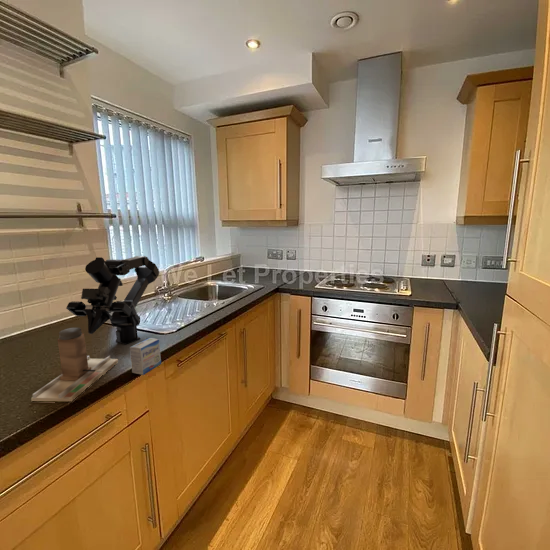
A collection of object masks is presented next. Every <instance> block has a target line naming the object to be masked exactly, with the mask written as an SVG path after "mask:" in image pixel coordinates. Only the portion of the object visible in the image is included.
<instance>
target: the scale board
mask: <svg viewBox="0 0 550 550" xmlns="http://www.w3.org/2000/svg"><path fill="white" fill-rule="evenodd" d="M87 361H88V367H91V370H95V371H94V372H93V371H88V372H87V373H86V374H84V375H83V376H82V377H81V378H79V379H78V380H77V381H70V380H60V376H62V375H63V374H62V373H61V374H60V375H58V376H56V377H55V378H54V379H52V380H51V381H50V382H48V383H47V384H45V385H43V386H42V387H41V388H39V389H37V391H35V392H34V393H32V394H31V395H32V396H31V402H32V401H72V400H73V399H75V398H76V397H77V396H78V395H79V394H80V393H81V392H83V391H84V390H85V389H86V388H87V387H89V386H90V385H91V384H92V383H94V382H95V381H96V380H97V379H98V380H100V379H101V378H102V377H103V376H104V375H106V374H107V373H108V372H109V371H110V370H111V369H112V368H113V367H115V366H116V365H117V364H119V359H118V358H111V355H108V356H107V357H105V358H91V356H90V355H87ZM114 365H115V366H114ZM108 370H109V371H108ZM107 371H108V372H107ZM106 372H107V373H106ZM102 375H103V376H102ZM101 376H102V377H101ZM100 377H101V378H100ZM99 378H100V379H99ZM98 380H97V381H98ZM97 381H96V382H97ZM96 382H95V383H96ZM95 383H94V384H95ZM91 386H92V385H91ZM91 386H90V387H91ZM90 387H89V388H90ZM84 392H85V391H84ZM84 392H83V393H84ZM77 398H78V397H77ZM77 398H76V399H77ZM76 399H75V400H76Z"/></svg>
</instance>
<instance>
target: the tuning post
mask: <svg viewBox="0 0 550 550" xmlns="http://www.w3.org/2000/svg"><path fill="white" fill-rule="evenodd" d="M58 334H59V338H57V347H58V352H59V357H60V359H59V360H60V366H61V367H60V368H61V372H62V373H61V374H63V375H62V376H60V380H70V381H77V380H78V379H79V378H81V377H82V376H83V375H84V374H86V373H87V372H88V371H93V372H94V371H95V370H91V367H88V361H87V356H88V355H87V347H86V339H85V333H82V328H81V327H69V328H65V329H62V330H60V331H59V332H58Z"/></svg>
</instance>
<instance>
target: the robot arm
mask: <svg viewBox="0 0 550 550" xmlns="http://www.w3.org/2000/svg"><path fill="white" fill-rule="evenodd" d="M84 269H85V272H86V273H87V274H88V275H89V276H90V277H91V278H92V279H93V280H94V282H95V283H97V284H99V285H98V287H97V288H82V291H81V295H80V299H81V300H87V301H86V302H87V303H88V304H86V303H84V302H83V301H78V300H77V301H69V302H68V304H67V306H66V308H65V309H66V310H67V311H69V312H70V313H71V314H73V315H74V316H76V317H87V330H88V331H87V332H88V334H89V335H93V334H94V333H96V332H97V330H98V329H99V328H100V327H102V326H103V325H104V324H105V323H106V322H108V321H110V324H111V326H112V328H114V327H116V331H115V335H116V336H115V337H116V338H115V342H118V343H120V344H123V345H127V344H128V345H129V344H130V343H133V342H136V341H138V340H141V337H140V336H138V326H140V323H141V317H140V315H139V314H138V312H137V309H136V307H137V305H138V303H139V302H140V300H141V298H142V296H143V295H144V293H145V291H146V289H147V287H148V286H149V285H150V284H152V283H154V282H155V281H156V279H158V277H159V275H160V270H159V267H158V266H157V265H156V263H154V262H153V261H152V260H150V259H149V258H148V256H146V255H135V256H133V257H130V258H129V257H128V258H125V259H106V260H105V259H104V257H102V256H101V257H99V256H98V257H95V259H94V260H92V261H90V262H89V263H88V264H86V265H85V268H84ZM132 269H134V272H135V274H136V277H137V279H136V280H135V282H134V284H133V285H132V287H131V288H130V290H128V291H129V292H128V293H127V295H126V296H125V298H124V300H121V301H120V300H117V296H116V294H117V291H118V288H119V287H122V286H124V285H123V282H122V280H121V278H120V277H118V276H126V275H127V274H129V273H130V271H131V270H132ZM115 300H116V301H115Z"/></svg>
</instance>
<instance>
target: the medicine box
mask: <svg viewBox="0 0 550 550" xmlns="http://www.w3.org/2000/svg"><path fill="white" fill-rule="evenodd" d="M160 344H161V343H160V339H158V338H154V337H148V338H146V339H144V340H142V341H140V342H137V343H136V344H134V345H132V346H129V355H130V361H131V362H130V364H131V373H132V374H136V375H140V376H145V375H146V374H148V373H150V372H151V371H152V370H154V369H155V368H157V367H159V366H160V365H162V359H161V358H162V357H161V345H160Z"/></svg>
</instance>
